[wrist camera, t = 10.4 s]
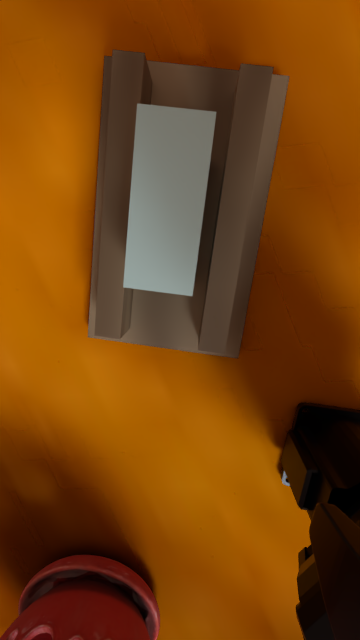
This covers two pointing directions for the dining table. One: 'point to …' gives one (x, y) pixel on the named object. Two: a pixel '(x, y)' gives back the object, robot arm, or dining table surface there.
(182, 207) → the pale grey block
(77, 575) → the plant pot
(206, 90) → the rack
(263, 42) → the dining table surface
